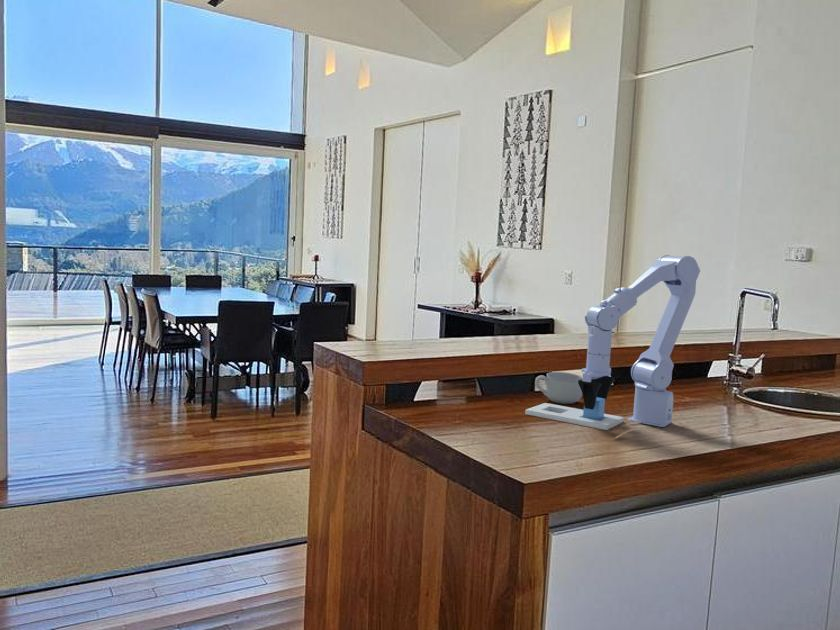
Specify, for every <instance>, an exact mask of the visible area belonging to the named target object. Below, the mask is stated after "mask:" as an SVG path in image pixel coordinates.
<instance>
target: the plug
mask: <svg viewBox="0 0 840 630" xmlns="http://www.w3.org/2000/svg"><path fill="white" fill-rule="evenodd" d="M605 407H606V402H605V399H604V398H598V397H596V402H595V407H594V409H593V410H592V409H586V408H585V406H584V405H583V410H584V411H583V418H588V419H593V420H598V421H601V420H603V419H604V414H605Z"/></svg>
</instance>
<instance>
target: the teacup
mask: <svg viewBox="0 0 840 630" xmlns="http://www.w3.org/2000/svg"><path fill="white" fill-rule="evenodd" d="M580 379H583V375H582V376H581V375H579V374H576V373H572V372H564V371H551V372H548V373H546V376H545V375H542V374H541V375H538V376H536V378H535V381H534V385H535V386H536V388H537V389H538V390H539V391H540V392H542V393H543V395H544V396H546V397H547V398H548V399H549V400H550V401H551V402H554V403H558V404H561V405H562V404H563V405H570V404H572V405H573V404H576V403H577V402H579V401H580V400H581V399H582V397H583V394H582V391H581V388H580V386H579V384H578V380H580ZM541 380H544V382H545V388H543V387H542V386H540V383H539V382H540V381H541Z"/></svg>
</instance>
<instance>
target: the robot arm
mask: <svg viewBox="0 0 840 630" xmlns="http://www.w3.org/2000/svg"><path fill="white" fill-rule="evenodd" d="M700 273H701V269H700V266H699V265H698V262H697V261H696V259H695V258H694V257H692V256H690V255H684V256H681V255H680V256H679V255H669V254H665V255H662V256H659V257H658V259H657V260H655V261H653V262H652V264H651V266H650V267H649V268H648V269H647V270H646V271H645V272H644V273H643V274H642V275H640V277H639V278H637V279H636V280H635V281H634V282H632V283H631V284H630V285H629V286H628V287H626V286H625V287H623V286H622V287H619V288H618V287H617V288H615V289H614V290H613V292H614V293H612V294H611V295H609V297H608V298H606V299H605V300H604V299H603V300H601V301H600V304H599V305H594V306H592V307H590V308H589V310H588V311H587V312H586V315H584V321H585V323H586V325H587V328H588V329H587V332H588V335H587V350H586V365H585V367H584V368H581V372H582V377H583V379H580V380H578V384H579V386H580V388H581V391H582V400H583V407H584V406H585V408H586V409H592V410H593V409H594V407H595V402H596V397H598V398H604V399H605V403H606V401H607V399H608V395H609V391H610V390H611V387H612V385H613V383H614V382H615V379H616V378H615V377H614V376H611V375H612V367H611V366H610V364H611V349H612V337H613V329H614V328H617V325H618V323H619V320H620V319H621V318H622V317H623V316H624V315H625V314H626V313H628V312H629V311H630V310H632V309H633V308H634V307H635V306H636V305H637V303H638V298H639V297H640V296H641V295H643V294H644V293H646V292H648V291H649V290H651V289H652V288H653V287H655V286H656V285H657V284H659V283H661V282H663V283H664V284H665V286H666V287H667V288H668V290H669V292H670V297H669V300H668V302H667V303H666V306H665V308H664V311H663V315H662V317H661V318H660V321H659V323H658V327H657V328H656V331H655V334H654V336H653V338H652V341H651V343H650V346H649V348H647V350H645V351H643V352H642V353H641V354H640V355H639V357H638V359H637V360H636V361H635V362H634V363H633V365H632V366H631V368H630V376H631V378H632V380H633V381H634V386H635V388H634V389H635V391H634V402H633V413H632V416H631V417H629V418H627V421H631V422H637V423H640V424H645V425H649V426H653V427H654V426H655V427H660V428H665V427H667V426H668V425H670V424H672V423H673V420H672V419H673V411H674V410H673V409H674V393H673V392H672V391H669V390H667V387H669V385H670V384H671V383H672V378H673V369H674V367H675V366H674V365H675V364H674V362H673V361H672V358H671V355H672V352H673V349H674V347H675V345H676V343H677V340H678V338H679V335H680V333H681V331H682V330H681V329H682V328H683V324H684V323H685V320H686V318H687V315H688V313H689V311H690V308H691V306H692V303H693V301H694V298H695V296H696V288H697V287H696V286H697V280H698V277H699V275H700Z"/></svg>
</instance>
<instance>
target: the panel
mask: <svg viewBox="0 0 840 630" xmlns="http://www.w3.org/2000/svg"><path fill="white" fill-rule="evenodd" d="M583 411H584V409H581V408H576V407H570V406H565V405H564V406H563V405H559V404H555V403H554V404H553V403H547V402H543V403H541V404H538V405H535V406H533V407H529V408H526V409H525V411H524V412H525V413H524V414H525V415H527V416H531V417H536V418H537V417H538V418H541V419H546V420H552V421H559V422H563V423H567V424H573V425H576V426H577V425H578V426H583V427H588V428H593V429H598V430H603V431H608V430H610V429H613V428H614V427H616V426H618V425H620V424H622V423H624V419H625V417H624V416H619V415H615V414H608V413H604V419H603V420H601V421H598V420H593V419H588V418H583Z"/></svg>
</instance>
